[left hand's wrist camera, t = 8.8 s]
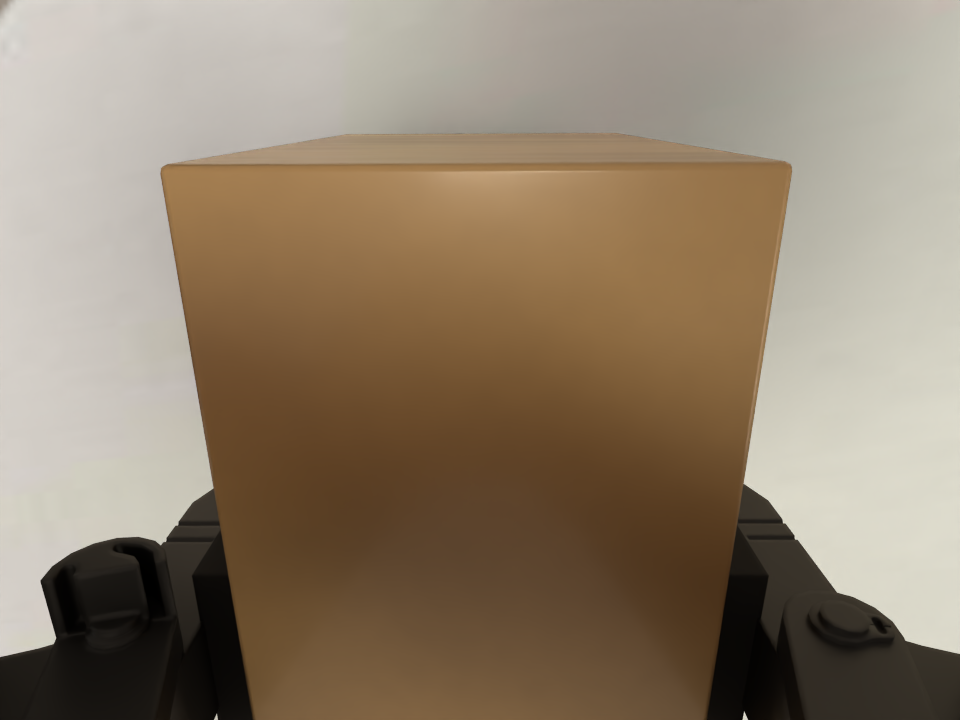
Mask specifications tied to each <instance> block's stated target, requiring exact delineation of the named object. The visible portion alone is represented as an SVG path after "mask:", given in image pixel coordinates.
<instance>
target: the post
mask: <svg viewBox="0 0 960 720" xmlns="http://www.w3.org/2000/svg"><path fill="white" fill-rule="evenodd" d="M791 174H792V167H791V164H789V163H787V162H785V161H779V160H773V159H767V158H761V157H755V156H749V155H743V154H737V153H731V152H725V151H719V150H713V149H707V148H702V147H696V146H690V145H684V144H678V143H672V142H666V141H660V140H654V139H648V138H642V137H636V136H630V135H624V134H618V133H532V134H346V135H340V136H334V137H328V138H322V139H316V140H310V141H304V142H298V143H292V144H286V145H280V146H274V147H268V148H262V149H256V150H250V151H244V152H238V153H232V154H226V155H220V156H214V157H208V158H202V159H196V160H190V161H184V162H178V163H172V164H167V165H165V166H163V167H162V168H161V179H162V185H163V191H164V197H165V203H166V209H167V215H168V221H169V226H170V232H171V238H172V244H173V250H174V256H175V262H176V268H177V274H178V280H179V286H180V292H181V297H182V303H183V309H184V315H185V321H186V327H187V333H188V339H189V345H190V351H191V357H192V363H193V368H194V374H195V380H196V386H197V392H198V398H199V404H200V410H201V416H202V422H203V428H204V434H205V440H206V445H207V451H208V457H209V463H210V469H211V475H212V481H213V487H214V493H215V499H216V505H217V511H218V516H219V522H220V528H221V534H222V540H223V546H224V552H225V558H226V564H227V570H228V576H229V582H230V587H231V593H232V599H233V605H234V611H235V617H236V623H237V629H238V635H239V641H240V647H241V653H242V658H243V664H244V670H245V676H246V682H247V688H248V694H249V700H250V706H251V712H252V718H253V720H707V714H708V708H709V701H710V695H711V689H712V682H713V676H714V669H715V663H716V656H717V650H718V644H719V637H720V631H721V624H722V618H723V611H724V605H725V599H726V592H727V586H728V579H729V573H730V566H731V560H732V554H733V547H734V541H735V534H736V528H737V521H738V515H739V509H740V502H741V496H742V489H743V483H744V476H745V470H746V464H747V457H748V451H749V444H750V438H751V431H752V425H753V419H754V412H755V406H756V399H757V393H758V387H759V380H760V374H761V367H762V361H763V354H764V348H765V342H766V335H767V329H768V322H769V316H770V309H771V303H772V297H773V290H774V284H775V277H776V271H777V264H778V258H779V252H780V245H781V239H782V232H783V226H784V219H785V213H786V207H787V200H788V194H789V187H790V181H791Z"/></svg>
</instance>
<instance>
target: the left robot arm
mask: <svg viewBox="0 0 960 720" xmlns="http://www.w3.org/2000/svg"><path fill="white" fill-rule="evenodd" d="M41 585H42V588H43V592H44V596H45V599H46V603H47V606H48V610H49V613H50V617H51V621H52V624H53V628H54V631H55V635H56V640H55V643H54V644H53V645H49V646H46V647H43V648H39V649H35V650H30V651H26V652H21V653H17V654H12V655H8V656H3V657H0V720H214V718H215V716H216V714H217V716H218V720H253V718H252V712H251V706H250V700H249V694H248V688H247V682H246V676H245V670H244V664H243V658H242V653H241V647H240V641H239V635H238V629H237V623H236V617H235V611H234V605H233V599H232V593H231V587H230V582H229V576H228V570H227V564H226V558H225V552H224V546H223V540H222V534H221V528H220V522H219V516H218V511H217V505H216V499H215V493H214V489H212V490H211V491H209V492H208V493H206V494H205V495H203V496H202V497H201V498H199V499H198V500H196V501H195V502H193V503H192V505H191V506H190V507H189V509H188V510H187V511H186V513H185V514H184V515H183V517H182V518H181V519H180V521H179V524H178V526H175V527H174V529H173V530H172V531H171V533H170V534H169V536H168V537H167V541H166V542H163V544H162V545H161V546H160V545H159V544H158V543H157V542H156V541H153V540H149V539H145V538H140V537H129V538H115V539H111V540H107V541H103V542H99V543H95V544H92V545H90V546H87V547H85V548H83V549H80V550H78V551H76V552H73V553H71V554H70V555H68V556H67V557H65V558H64V559H62V560H61V561H59V562H58V563H57V564H55V565H54V566H52V567H51V569H50V570H49V571H48V572H47V573H46V575H45V576H44V577H43V578H42V579H41ZM744 711H745V714H746V716H747V718H748V720H960V654H957V653H952V652H948V651H943V650H939V649H934V648H930V647H925V646H921V645H918V644H914V643H911V642H907V641H905V639H904V637H903V636H902V634H901V633H900V632H899V630H898V629H897V627H896V626H895V624H894V623H893V622H892V621H891V620H890V619H888V618H887V617H886V616H885V615H883V614H882V613H881V612H879V611H878V610H877V609H876V608H874V607H872V606H870V605H868V604H866V603H864V602H862V601H860V600H858V599H856V598H854V597H851V596H847V595H843V594H840V593H837V592H836V591H835V589H834V588H833V587H832V585H831V584H830V583H829V581H828V580H827V579H826V577H825V576H824V575H823V573H822V572H821V571H820V569H819V568H818V567H817V565H816V564H815V563H814V561H813V560H812V559H811V557H810V556H809V555H808V553H807V552H806V550H805V549H804V548H803V546H802V545H801V544H800V542H799V541H798V540H795V538H794V534H793V533H792V532H791V530H790V529H789V528H788V526H787V525H786V524H783V522H782V518H781V517H780V516H779V514H778V513H777V512H776V510H775V509H774V508H773V506H772V505H771V504H770V502H769V501H768V500H767V499H765V498H764V497H762V496H761V495H759V494H758V493H756V492H755V491H753V490H752V489H750V488H749V487H747V486H746V485H744V484H743V489H742V496H741V502H740V509H739V515H738V521H737V528H736V534H735V541H734V547H733V554H732V560H731V566H730V573H729V579H728V586H727V592H726V599H725V605H724V611H723V618H722V624H721V631H720V637H719V644H718V650H717V656H716V663H715V669H714V676H713V682H712V689H711V695H710V701H709V708H708V714H707V720H742V719H743V714H744Z"/></svg>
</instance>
